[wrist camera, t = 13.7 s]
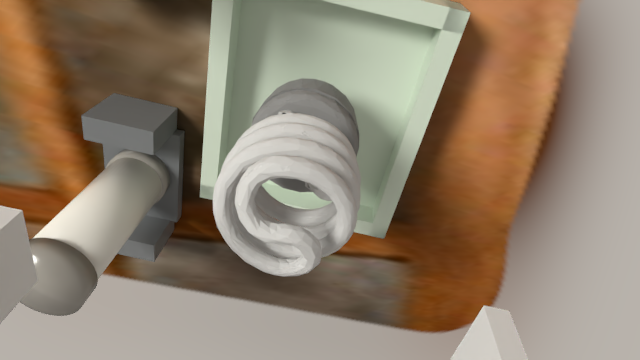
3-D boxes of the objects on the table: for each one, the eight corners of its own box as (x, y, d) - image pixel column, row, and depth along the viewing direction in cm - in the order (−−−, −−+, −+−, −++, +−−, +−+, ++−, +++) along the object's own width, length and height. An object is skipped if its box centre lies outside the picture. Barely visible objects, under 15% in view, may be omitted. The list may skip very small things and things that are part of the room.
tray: (212, 176, 29) (199, 197, 26) (230, -53, 21) (215, -50, 19) (382, 215, 29) (384, 238, 27) (460, 3, 22) (470, 12, 19)
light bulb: (379, 125, 25) (387, 272, 14) (297, 162, 26) (253, 314, 16) (334, 38, 22) (306, 140, 12) (247, 85, 24) (160, 207, 14)
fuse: (114, 190, 29) (8, 305, 20) (110, 141, 27) (-10, 246, 18) (169, 203, 29) (87, 322, 21) (170, 155, 27) (79, 266, 18)
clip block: (114, 216, 31) (88, 247, 28) (77, -303, 17) (16, -350, 14) (180, 231, 31) (161, 263, 29) (199, -271, 17) (164, -310, 14)
